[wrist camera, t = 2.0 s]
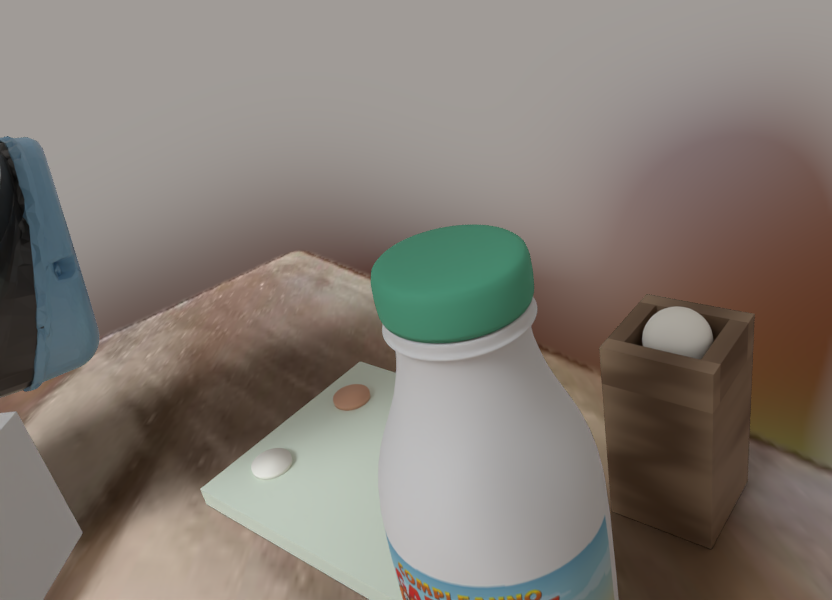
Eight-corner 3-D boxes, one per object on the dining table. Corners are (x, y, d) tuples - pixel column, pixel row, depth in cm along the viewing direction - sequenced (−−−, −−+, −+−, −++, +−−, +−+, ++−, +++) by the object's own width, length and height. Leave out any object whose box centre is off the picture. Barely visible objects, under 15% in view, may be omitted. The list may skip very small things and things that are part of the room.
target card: (206, 504, 44) (198, 485, 43) (363, 375, 53) (359, 357, 52) (415, 626, 34) (409, 604, 33) (566, 443, 43) (563, 422, 42)
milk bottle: (444, 613, 35) (343, 216, 25) (616, 609, 33) (577, 184, 24) (425, 790, 28) (279, 339, 19) (639, 796, 26) (599, 308, 17)
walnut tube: (611, 511, 38) (599, 347, 33) (652, 451, 41) (646, 294, 36) (711, 549, 35) (713, 374, 30) (747, 481, 38) (754, 313, 33)
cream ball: (632, 377, 34) (629, 321, 33) (659, 343, 36) (657, 289, 35) (697, 394, 32) (698, 336, 31) (722, 357, 34) (724, 301, 33)
